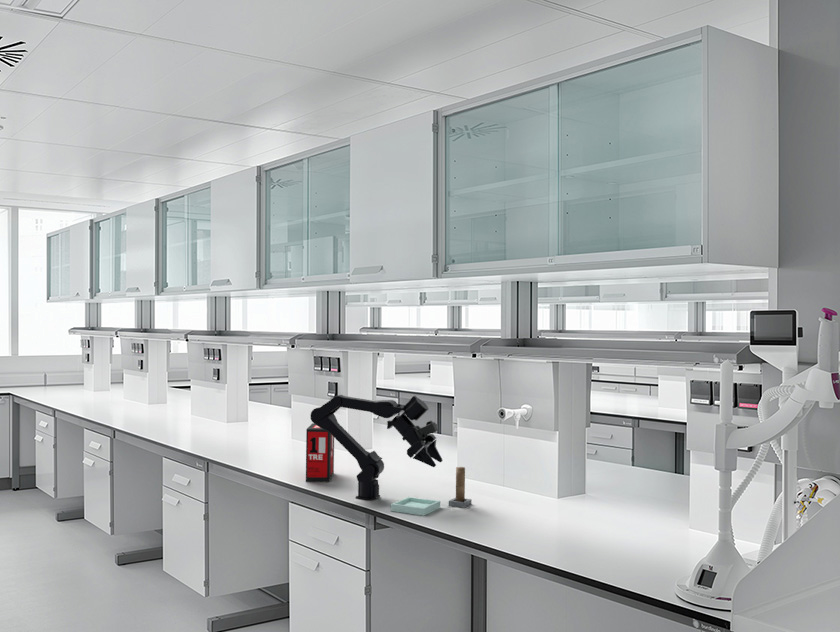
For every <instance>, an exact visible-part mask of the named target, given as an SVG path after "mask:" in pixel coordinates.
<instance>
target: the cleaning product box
mask: <svg viewBox="0 0 840 632" xmlns="http://www.w3.org/2000/svg"><path fill="white" fill-rule="evenodd" d="M305 438H306V441H305V443H306V445H305V483H307V482H309V483H311V482H312V483H314V482H315V483H329V482H330V481H331V479H332V477H333V475H334V474H335V470H334V469H335V438H334V437H333V436H332V435H331V434H330V433H329V432H328V431H326V430H324V429H322V428H320V427H319V426H317V425H316V424H314V423H313V422H311V424H310V425H309V426H308V427H307V428H306V437H305Z"/></svg>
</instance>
